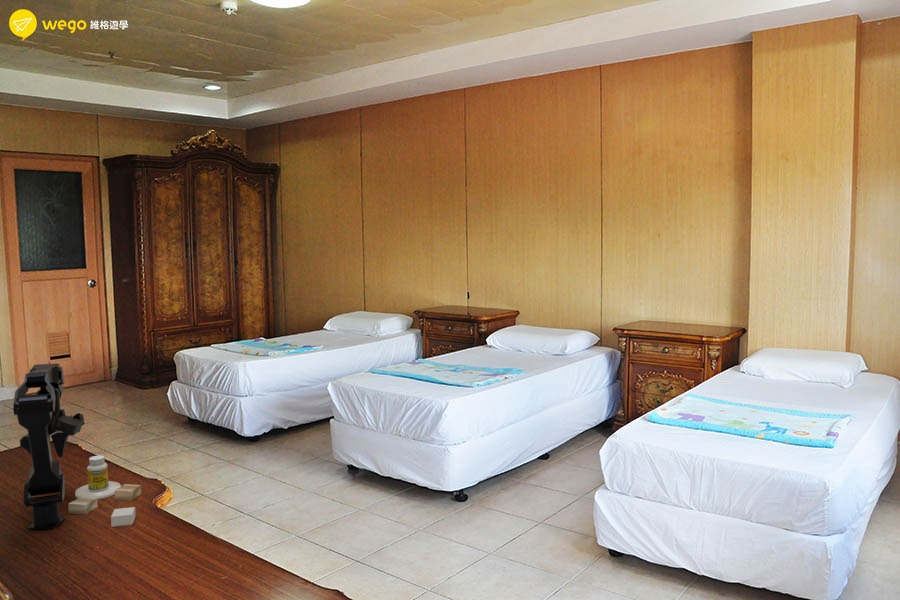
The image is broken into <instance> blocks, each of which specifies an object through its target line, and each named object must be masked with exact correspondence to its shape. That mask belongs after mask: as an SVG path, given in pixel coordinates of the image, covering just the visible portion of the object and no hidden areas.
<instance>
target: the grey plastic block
mask: <svg viewBox="0 0 900 600" xmlns="http://www.w3.org/2000/svg"><path fill="white" fill-rule="evenodd" d="M135 519H136V506H132V507H122V508H114V509H113V512H112V514H111V516H110V523H111V524H110V526H111V528H114V527H123V526H132V525H133V524H134V522H135Z"/></svg>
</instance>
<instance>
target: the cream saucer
mask: <svg viewBox="0 0 900 600" xmlns="http://www.w3.org/2000/svg"><path fill="white" fill-rule="evenodd" d="M108 483H109V487H108V488H107V489H106V490H103V491H100V492H91V491H89V490H88V483H87V484H84V485H82V486H80V487H78V488H77V489H76V490H75V491H74V494H75V496H74V497H75V498H76V499H78V498H79V497H93V498H97V500H101V499H107V498H110V497H113V496H115V490H116V489H118V488H120V487H121V486H122V484H121V483H119V482H117V481H111V480H110V481H109V480H108Z"/></svg>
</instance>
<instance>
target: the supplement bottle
mask: <svg viewBox="0 0 900 600" xmlns="http://www.w3.org/2000/svg"><path fill="white" fill-rule="evenodd" d="M105 461H106V460H105V456H104V455H94V456H90V457H89V458H88V463H89V465H88V466H87V467H86V473H87V484H88V490H89V491H91V492H100V491H103V490H106V489H107V488H108V487H109V483H108V481H109V471H108V463H106V462H105Z"/></svg>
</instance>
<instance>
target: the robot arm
mask: <svg viewBox="0 0 900 600" xmlns="http://www.w3.org/2000/svg"><path fill="white" fill-rule="evenodd" d="M65 382H66V381H65V375H64V370H63V366H60V363H59V362H58V363H42V364H39V363H37V364H33V365H32V367H31V368H30V369H29V372H28V373H25V375H24V381H23V382H22V384H20V385H19V386H18V388H17V389H16V390H15V391H14V397H13V398H14V399H13V415H14V416H16V418H17V422H18V425H20V426H21V427H23V428H24V429H25V430H27V434H25V435H24V436H22V437H21V438H20V439H19V447H20V448H23V450H26V451H27V452H28V453H29V455H30V456H31V459H32V464H31V469H29V476H28V478H26V482H25V483H24V485H23V505H24V506H25V508H28V507H32V518H33V522H32V523H31V524H30V525H29V526H28V527H27V529H28V530H53V529H55V528H56V527H57V526H58V525H60V524H61V523H62V522H63V521H65V520H66V517H65V516H60V504H59V503H64V499H65V496H66V495H65V494H66V493H65V475H64V473H63V474H62V470H61V465H60V462H59V460H53V455H52V450H51V449H52V448H51V445H52V444H51V443H50V441H52V443H53V447H54V450H55V452H56V455H57V457H58V458H62V457H64V452H65V448H66V445H67V443H68V439H69V437H70V436H75V435H76V434H78V433H81V430H82V426H84V425H85V419H84V414H83V413H80V412H76V414H74V415H66V411H65V409H64V408H63V409H61V398H62V395H63V393H64V386H63V385H65ZM38 388H39V389H38ZM30 389H37V391H36V393H35V394H28V395H27V393H28V392H29V390H30ZM48 494H49V495H48ZM42 495H43V496H42ZM33 496H35V497H33Z"/></svg>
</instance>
